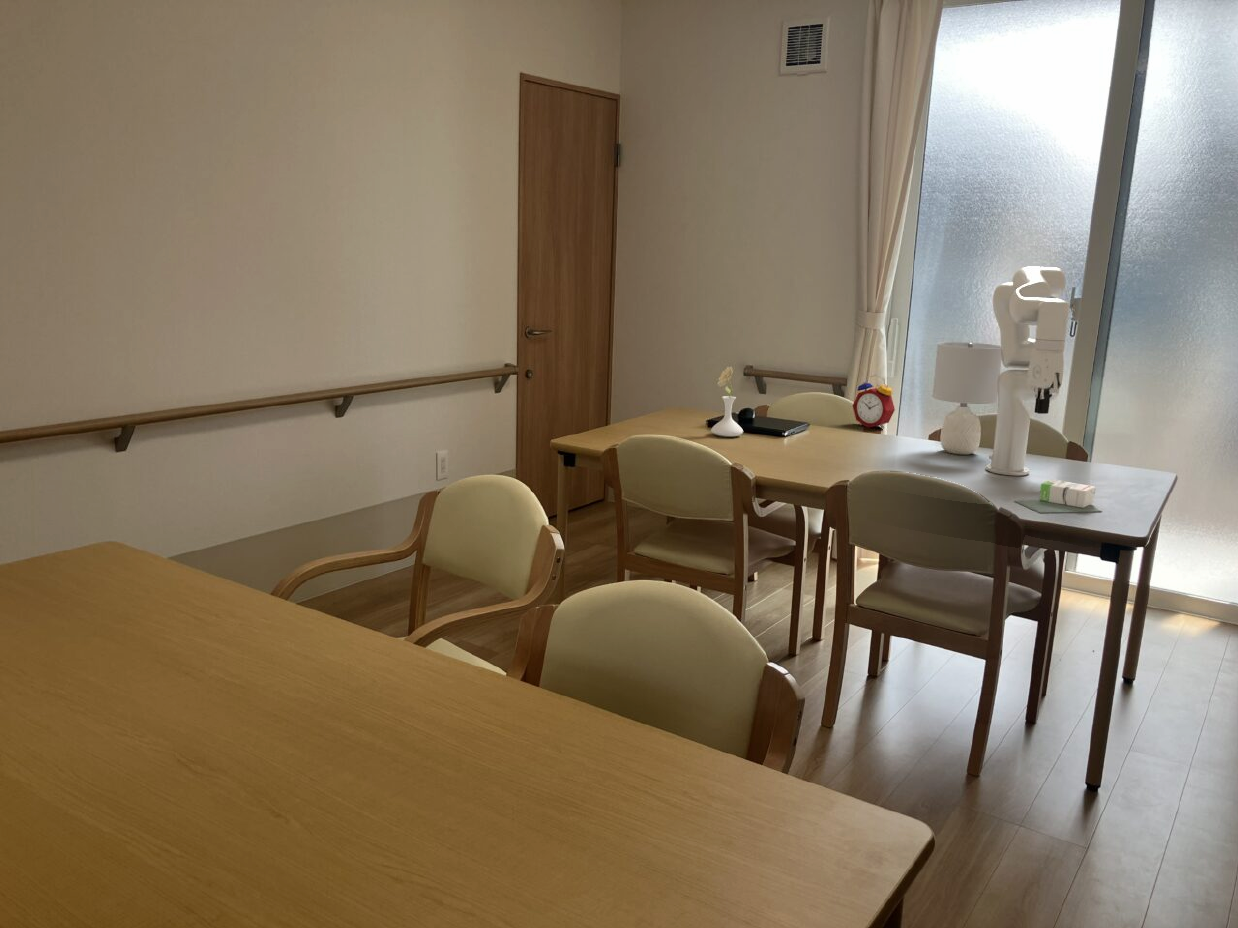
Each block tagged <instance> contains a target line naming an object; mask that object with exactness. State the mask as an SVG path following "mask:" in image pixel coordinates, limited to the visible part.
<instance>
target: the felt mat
mask: <svg viewBox="0 0 1238 928" xmlns="http://www.w3.org/2000/svg"><path fill="white" fill-rule="evenodd" d="M1013 502H1014V503H1016V504H1019V505H1021V506H1023V507H1025V508H1028V509H1029V510H1032V511H1034V512H1036V513H1038V514H1064V513H1065V514H1068V513H1069V514H1074V513H1076V514H1077V513H1078V514H1079V513H1080V514H1081V513H1102V512H1103V511H1102V510H1100V509H1098V508H1096V507H1093V506H1091V505H1088V506H1086V507H1084V508H1080V507H1074V506H1069V505H1063V504H1057V503H1052V502H1046V501H1041V500H1039V499H1030V500H1029V499H1025V500H1023V499H1022V500H1021V499H1020V500H1013Z"/></svg>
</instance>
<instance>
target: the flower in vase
mask: <svg viewBox="0 0 1238 928" xmlns="http://www.w3.org/2000/svg"><path fill="white" fill-rule="evenodd" d="M733 372H734V370H733V367H732V366H727V367H726V368H725V369H724V370H723V371H722V372H721V374H720V377H718V382H717V385H718V387H719V388H720V387H723V386H725V385H726V384H728V382H729V385H730V387H728V385H726V386H725V387H724V390H725V391H726V393H728V394H729V395H726V396H725V395H724V396H721V399H722V401H723V403H724V416H723V418H722V419H721V420H719V422H717V423H716V424H714V425H713V426H712V427H711V429H710V432H711V433H712V434H714V435H716V436H719V437H739V436H740V435H742V434H743V433H744V430H743V428H742V427H741V426H740V425H739V424H738V422H736V421H735V420H734V419H733V417H732V409H733V404H734V402H735V400H736V399H737V397H736V396H733V391H734V388H733V387H732V383H731V381H730V379H731V378H732V374H733Z"/></svg>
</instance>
